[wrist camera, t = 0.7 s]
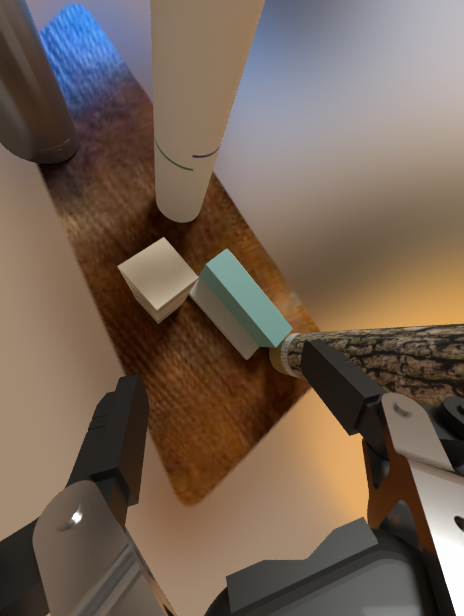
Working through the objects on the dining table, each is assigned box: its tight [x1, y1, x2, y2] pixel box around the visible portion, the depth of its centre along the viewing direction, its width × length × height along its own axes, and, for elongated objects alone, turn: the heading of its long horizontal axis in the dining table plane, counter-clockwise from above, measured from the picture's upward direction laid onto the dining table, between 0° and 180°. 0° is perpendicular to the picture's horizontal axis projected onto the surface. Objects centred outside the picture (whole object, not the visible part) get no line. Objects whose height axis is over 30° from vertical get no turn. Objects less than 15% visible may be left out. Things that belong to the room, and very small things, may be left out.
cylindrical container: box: [151, 0, 265, 223], centre depth 22 cm, size 7×7×25 cm
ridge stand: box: [188, 249, 293, 360], centre depth 31 cm, size 15×10×6 cm, turn 43°
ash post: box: [117, 237, 199, 324], centre depth 23 cm, size 4×4×14 cm
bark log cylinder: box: [269, 324, 464, 405], centre depth 24 cm, size 7×7×25 cm
